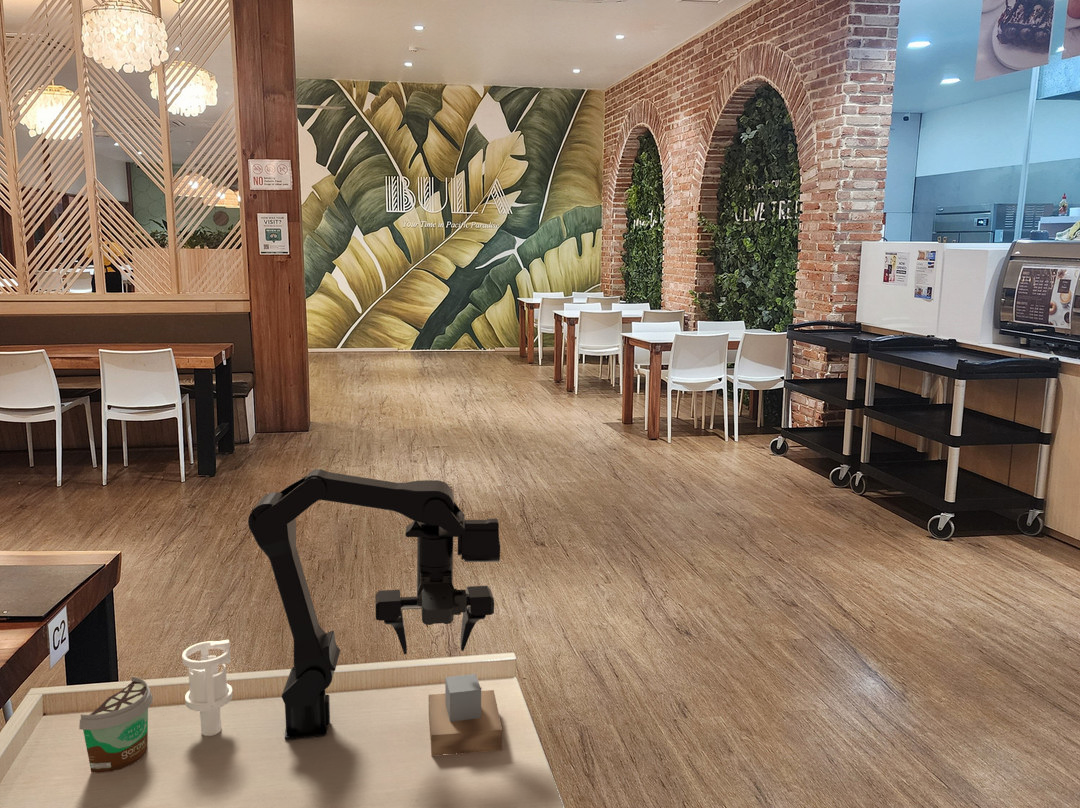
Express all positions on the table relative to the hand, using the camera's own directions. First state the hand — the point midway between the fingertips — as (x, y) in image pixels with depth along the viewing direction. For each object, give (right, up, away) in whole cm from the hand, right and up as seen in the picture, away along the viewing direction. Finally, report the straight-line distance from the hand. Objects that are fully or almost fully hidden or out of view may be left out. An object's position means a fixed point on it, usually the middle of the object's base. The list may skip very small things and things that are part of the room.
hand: (433, 651), depth 139 cm
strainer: (-36, -13, -1) cm, 38 cm away
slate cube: (+5, -9, -1) cm, 11 cm away
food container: (-46, -14, -8) cm, 48 cm away
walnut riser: (+5, -13, 0) cm, 14 cm away
